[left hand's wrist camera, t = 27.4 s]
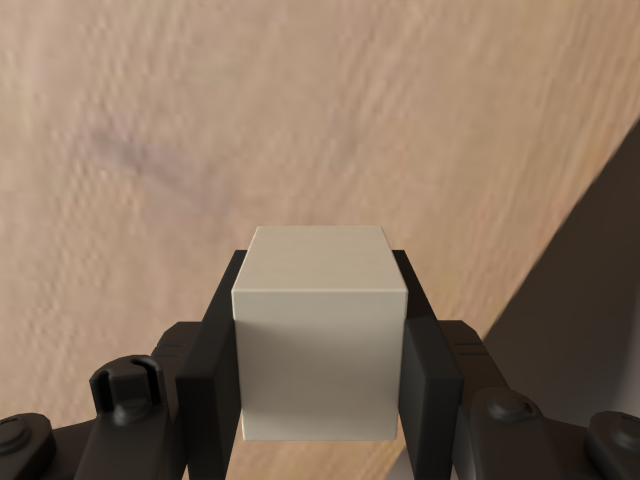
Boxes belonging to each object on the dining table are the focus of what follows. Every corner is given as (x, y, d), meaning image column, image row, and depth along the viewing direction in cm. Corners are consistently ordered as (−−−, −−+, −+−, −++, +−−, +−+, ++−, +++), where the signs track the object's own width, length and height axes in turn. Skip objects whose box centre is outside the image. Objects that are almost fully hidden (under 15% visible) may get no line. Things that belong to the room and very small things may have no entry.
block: (382, 224, 14) (409, 289, 10) (375, 342, 16) (396, 441, 12) (257, 224, 14) (230, 289, 10) (263, 342, 16) (243, 441, 12)
